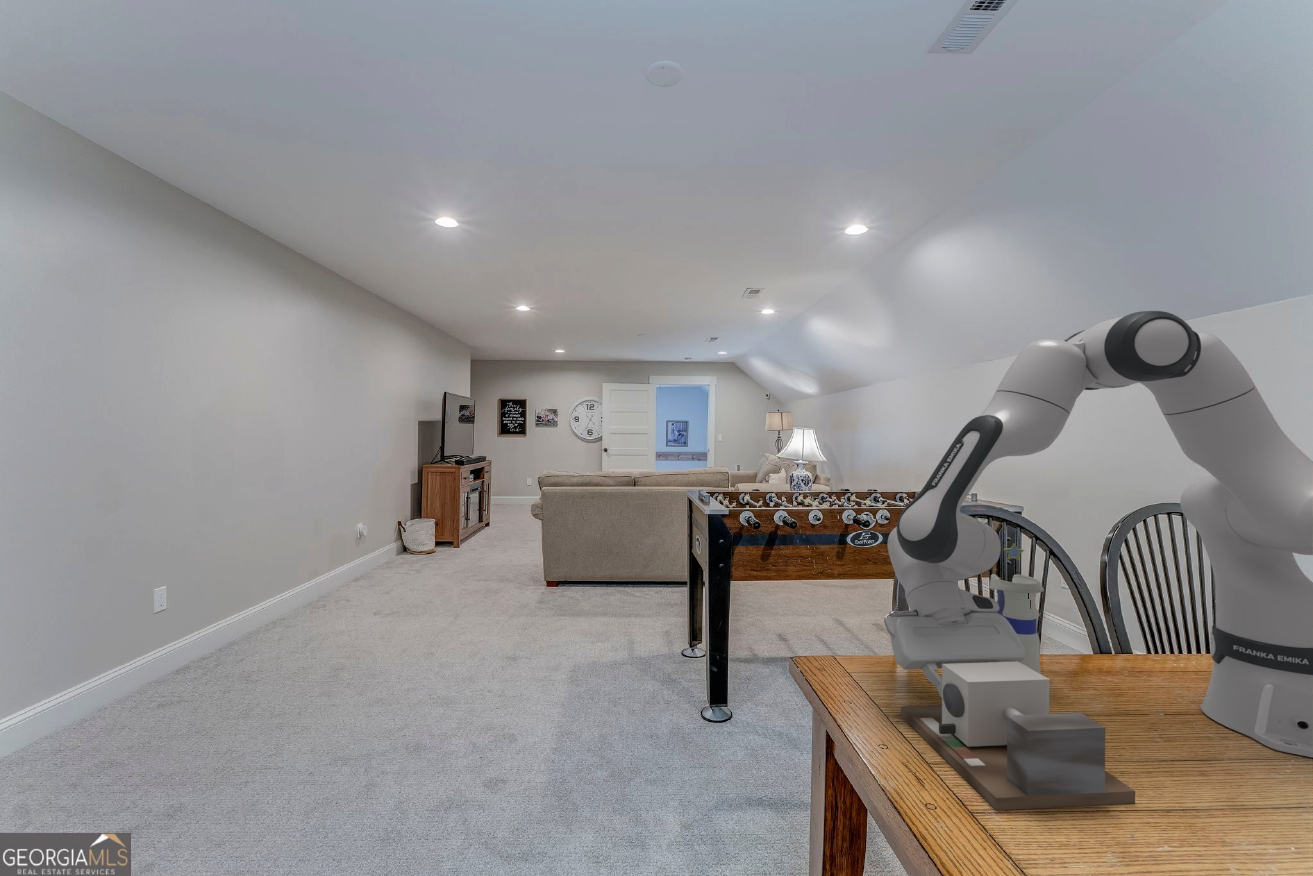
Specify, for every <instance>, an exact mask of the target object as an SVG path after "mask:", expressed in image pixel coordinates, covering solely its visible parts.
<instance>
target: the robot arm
mask: <svg viewBox="0 0 1313 876" xmlns="http://www.w3.org/2000/svg"><path fill="white" fill-rule="evenodd" d="M1135 384H1141V385H1142V386H1143V387H1146V388H1147V389H1148V390H1149V391H1150V392H1151V394H1153V396H1154V398H1155V400H1156V403H1157V405H1158V407H1159V409H1160V411H1161V413H1162V415H1163V417H1164V419H1165V421H1166V423H1167V424H1168V426H1169V428H1170V430H1171V432H1172V434H1173V436H1174V437H1175V440H1176V442H1177V443H1178V445H1179V447H1180V449H1181V450H1182V452H1183V454H1184V455H1185V456H1186V457H1187V458H1188V459H1189V460H1190V461H1192V462H1193V463H1195V464H1197V465H1198V466H1200V467H1201V468H1202V469H1204V470H1205V471H1207V473H1210V475H1209V476H1203V477H1200V478H1197V479H1195V480H1193V481H1191V482H1190V483H1189V484H1188V485H1187V486H1186V487H1185V488H1184V489H1183V491H1182V493H1181V495H1180V501H1179V503H1180V505H1179V506H1180V510H1181V513H1182V514H1183V516H1184V517H1185V519H1186V520H1187V521H1188V522H1189V523H1190V524H1191V525H1192V526H1193V527H1194V529H1195V530H1196V531H1197V532H1198V535H1199V537H1200V539H1201V541H1202V543H1203V546H1204V548H1205V551H1206V553H1207V556H1208V559H1209V562H1210V565H1211V570H1212V574H1213V577H1214V588H1215V593H1214V594H1215V624H1213V625H1212V626H1211V632H1210V656H1211V658H1212V659H1211V660H1212V661H1213V664H1212V669H1211V675H1210V680H1209V685H1208V688H1207V691H1206V694H1205V697H1204V698H1203V701H1202V702H1201V704H1200V709H1201V711H1202V712H1203V713H1204V714H1205V716H1207V717H1208V718H1210V719H1212V720H1214V721H1215V722H1217V723H1219V724H1220V725H1222V726H1223V727H1224V726H1225V727H1227V728H1229V729H1231V730H1234V731H1236V732H1238V733H1240V734H1243V735H1245V736H1247V737H1250V738H1252V739H1254V740H1255V741H1257V742H1259V743H1260V744H1262V745H1264V746H1266V747H1268V748H1271V749H1273V750H1276V751H1280V752H1284V753H1288V754H1293V755H1298V756H1304V757H1309V758H1313V581H1312V580H1310V578H1309V577H1308V576H1307V575H1306V574H1305V573H1304V572H1303V571H1302V569H1301V568H1300V566H1299V565H1298V563H1297V560H1296V558H1295V556H1294V554H1298V555H1304V556H1313V460H1312V459H1311V458H1309V457H1308V456H1307V455H1306V454H1305V453H1304V452H1303V451H1302V450H1301V449H1300V448H1299V447H1298V446H1297V445H1296V444H1295V443H1294V442H1293V441H1292V440H1291V439H1290V438H1289V437H1288V436H1287V435H1286V433H1285V432H1284V431H1283V430H1282V428H1281V426H1280V425H1279V424H1278V422H1277V420H1276V419H1275V417H1274V416H1273V414H1272V412H1271V410H1270V408H1269V407H1268V405H1267V403H1266V402H1265V400H1264V398H1263V397H1262V395H1261V393H1260V391H1259V390H1258V388H1257V386H1256V383H1255V382H1254V381H1253V378H1252V377H1251V375H1250V374H1249V373H1248V370H1246V368H1245V367H1244V366H1243V364H1242V362H1241V361H1240V360H1239V359H1238V357H1237V356H1236V355H1235V353H1233V351H1232V350H1231V349H1230V348H1229V347H1228V346H1227V345H1226V344H1225V343H1224V342H1223V340H1221V339H1220V337H1218V336H1217V335H1214V334H1211V333H1209V332H1201V331H1198V332H1197V331H1195V330H1193V328H1192V327H1191V326H1190V325H1189V324H1188V322H1186V321H1185V320H1183V319H1182V318H1180V317H1179V316H1177V315H1175V314H1173V313H1170V312H1167V311H1163V310H1145V311H1142V310H1141V311H1135V312H1132V313H1129V314H1127V315H1124V316H1119V317H1115V318H1114V317H1113V318H1110V319H1108V320H1104V321H1101V322H1099V323H1097V324H1095V325H1094V326H1093V325H1092V327H1091V326H1090V327H1089V328H1087V329H1083V330H1081V331H1078V332H1076V333H1074V334H1072V335H1070V336H1069V337H1067V338H1066V339H1064V340H1060V339H1056V338H1055V339H1054V338H1045V339H1038V340H1035V341H1031V342H1030V343H1028V344H1027V345H1026V346H1025V347H1024V348H1022V350H1021V351H1020V352H1019V354H1018V355H1017V356H1016V357H1015V359H1014V360H1013V362H1012V364H1011V365H1010V366H1009V368H1008V369H1007V370H1006V372H1005V374H1004V376H1003V377H1002V379H1001V381H1000V382H999V384H998V386H997V388H996V390H995V392H994V394H993V397H992V398H991V399H990V401H989V403H988V405H987V406H986V408H985V409H984V410H983V411H982V412H981V413H980V414H979V415H978V416H976V417H974V418H972V419H971V420H970V421H968V423H966V424H965V425H964V426H963V427H962V428H961V430H960V431H959V433H958V434H957V436H956V437H954V440H953V441H952V443H951V444H950V445H949V447H948V449H947V450H946V452H945V453H944V455H943V457H942V458H941V460H940V461H939V462H938V464H937V466H936V467H935V469H934V471H933V472H932V474H931V475H930V477H929V478H928V479H927V481H926V483H925V484H924V486H923V487H922V488H921V490H919V492H918V493H917V495H915V496H914V498H913V499H911V501H910V502H909V503H908V504H907V505H906V506H905V507H904V508H903V510H902V511H901V513H900V515H899V517H898V518H897V522H896V527H894V528H893V529H892V530H891V532H889V535H888V538H887V551H888V552H887V553H888V556H889V559H890V562H891V564H892V565H891V566H892V569H893V571H894V573H895V575H896V578H897V580H898V582H899V583H900V584H901V585H902V588H903V589H904V593H905V594H904V596H905V600H906V604H907V605H908V608H909V610H900V611H899V610H891V611H889V613H888V614H886V615H885V616H884V618H883V622H884V626H885V629H886V631H887V633H888V634H889V636H890V642H891V643H890V644H891V647H892V652H893V655H894V658H895V662H896V663H897V665H898V666H899V667H900V668H902V669H903V670H922V672H923V675H924V677H925V678H926V679H927V680H928V681H929V682H930V683H931V684H932V685H933V686H935V687H936V690H937V692H938V695H939V696H940V698H942V676H941V675H939V673H938V672H937V671H938V670H939V669H941V670H942V664H953V663H985V662H1021V661H1022V660H1023V659H1024V658H1025V649H1024V647H1023V645H1022V643H1021V641H1020V639H1019V637H1018V636H1017V634H1016V632H1015V631H1014V629H1013V627H1012V626H1011V624H1010V623H1009V622H1008V620H1007V619H1006V618H1005V617H1003V616H1002V615H1000V614H998V613H997V612H998V610H999V605H998V603H997V600H996V599H994V598H992V597H987V596H984V595H980V594H976V593H973V592H970V591H968V590H964V589H961V588H960V585H959V581H964V580H968V579H971V578H974V577H977V576H979V575H980V576H981V575H982V574H984V573H987V572H989V571H990V570H992V569H993V568H994V567H995V566H996V565H997V563H998V562H999V560H1000V558H1001V554H1002V541H1001V538H1000V535H999V534H998V532H997V530H995V529H994V527H993V526H991V525H990V524H987V523H985V522H983V521H981V520H979V519H977V518H975V517H973V516H970V515H968V514H965V513H963V512H961V507H962V505H963V503H964V501H965V500H966V498H967V497H968V495H969V493H970V492H971V491H972V489H973V487H974V486H975V485H976V482H977V481H978V479H979V478H980V477H981V475H982V473H983V472H984V470H985V469H986V468H987V466H989V465H990V464H991V463H992V462H995V461H997V460H998V459H1001V458H1005V457H1023V456H1030V455H1034V454H1037V453H1040V452H1042V451H1044V450H1047V449H1048V448H1049V447H1050V446H1051V445H1053V443H1054V442H1055V441H1056V439H1058V437H1059V436H1060V434H1061V433H1062V431H1063V429H1064V428H1065V425H1066V423H1067V421H1068V419H1069V417H1070V415H1071V413H1072V411H1073V408H1074V406H1075V404H1076V402H1077V399H1078V398H1079V396H1080V395H1081V394H1082V392H1084V390H1085V391H1094V390H1095V391H1096V390H1101V389H1102V390H1103V389H1116V388H1126V387H1129V386H1132V385H1135Z"/></svg>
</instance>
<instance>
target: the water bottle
mask: <svg viewBox="0 0 1313 876" xmlns="http://www.w3.org/2000/svg"><path fill="white" fill-rule="evenodd" d="M1003 551H1005V552H1006V553H1008V555H1007V558H1006V560H1012V559H1015V560H1017V561H1020V560H1021V558H1020V557H1021V556H1020V554H1022V553H1023V552H1025V549H1022V548H1021V549H1020V548H1018V547H1017V545H1016V544H1015V543H1013V544H1012V546H1011V547H1009V548H1003ZM988 589H989V590H990V591H995V590H996V596H997V598H996V599H997V600H996V602H997V603H998V605H999V610H998V612H997V613H998V614H1000V615H1002V616H1003V617H1005V618H1006V619H1007V620H1008V622H1009V623H1010V624H1011V626H1012V627H1013V629H1014V631H1015V632H1016V634H1017V636H1018V637H1019V639H1020V641H1021V643H1022V645H1023V647H1024V649H1025V658H1024V659H1023V660H1022V661H1021V662H1020V663H1022V664H1023V665H1025V666H1027V667H1029V668H1030V669H1032V670H1034V671H1036V672H1037V673H1039V674H1041V642H1040V641H1041V640H1040V636H1039V634H1038V629H1037V627H1038V618H1039V617H1040V613H1039V611H1038V610H1037V607H1036V606H1037V605H1036V597H1037V594H1040V593H1043V592H1044V591H1045V590H1044V587H1043V585H1042V584H1041V581H1040V580H1039V579H1038V578H1034V577H1032V576H1028V575H1025V574H1018V573H1017V574H1013V576H1012V580H1011V581H1008V580H1002V579H1000V578H999V576H998V575H996V574H994V573H992V574H991V575H990V581H989V587H988ZM1028 593H1029V599H1028ZM1030 600H1031V609H1030ZM1041 675H1042V674H1041Z"/></svg>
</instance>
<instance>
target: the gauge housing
mask: <svg viewBox="0 0 1313 876" xmlns="http://www.w3.org/2000/svg"><path fill="white" fill-rule="evenodd" d="M941 672H942V673H941V678H942V697H941V705H942V724H939V733H940V734H954V735H955V736H956V737H958V738H959V739H960V740H961V741H962V742H963V743H964V744H965V745H967V746H968V747H971V746H995V745H1007V716H1014V715H1040V714H1050V689H1051V687H1050V686H1051V683H1050V681H1051V679H1050V678H1048V677H1047V676H1045V675H1043V674H1039V673H1037V672H1036V671H1034V670H1032V669H1030V668H1029V667H1027V666H1025V665H1023V664H1022V663H1020V662H985V663H953V664H942V668H941Z"/></svg>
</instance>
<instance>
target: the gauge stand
mask: <svg viewBox="0 0 1313 876" xmlns="http://www.w3.org/2000/svg"><path fill="white" fill-rule="evenodd" d="M900 717H901V718H902V719H903V720H904V721H905V722H906V723H907V724H908V725H909V726H910V727H911V728H912V729H913V730H914V731H915V732H916V733H917V734H918V735H919V736H921V738H922V739H924V741H925V742H926V743H927V744H929V746H930V747H932V749H933V750H934V751H936V753H938V755H940V756H941V757H942V758H943V759H944V760H945V762H947V763H948V765H950V767H952V768H953V769H954V770H955V771H956V773H958V774H959V775H960V776H961V777H962V779H964V780H965V781H966V782H967V783H968V784H969V785H970V786H971V787H972V788H973V789H974V790H975V791H976V792H978V794H979V795H980V796H981V797H982V798H983V799H984V800H985V802H987V803H988V804H989V805H990V806H991V807H992V808H993V809H995V811H1010V810H1011V811H1013V810H1029V809H1050V808H1051V809H1052V808H1067V807H1069V808H1070V807H1086V806H1105V805H1106V806H1107V805H1108V806H1109V805H1124V804H1125V805H1127V804H1136V790H1134V789H1133V788H1132V787H1130V786H1129V785H1127V784H1126V783H1125V782H1123V781H1121V780H1120V779H1118V778H1117V777H1115V776H1114V775H1112V774H1111V773H1110V772H1108V771H1107V770H1106V726H1103V725H1102V724H1100V723H1099V722H1096V721H1095V720H1094V719H1092V718H1090V717H1089V716H1087V715H1086V714H1083V713H1082V712H1073V713H1070V712H1069V713H1049V714H1040V715H1014V716H1007V745H995V746H971V747H968V746H967V745H965V744H964V743H963V742H962V741H961V740H960V739H959V738H958V737H956V736H955V735H954V734H940V733H939V724H942V704H936V705H932V704H930V705H912V706H911V705H909V706H900Z"/></svg>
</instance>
